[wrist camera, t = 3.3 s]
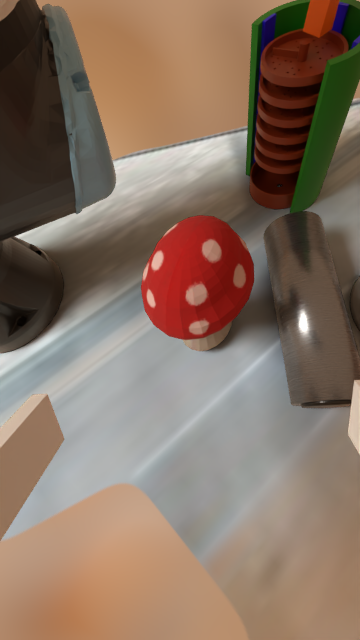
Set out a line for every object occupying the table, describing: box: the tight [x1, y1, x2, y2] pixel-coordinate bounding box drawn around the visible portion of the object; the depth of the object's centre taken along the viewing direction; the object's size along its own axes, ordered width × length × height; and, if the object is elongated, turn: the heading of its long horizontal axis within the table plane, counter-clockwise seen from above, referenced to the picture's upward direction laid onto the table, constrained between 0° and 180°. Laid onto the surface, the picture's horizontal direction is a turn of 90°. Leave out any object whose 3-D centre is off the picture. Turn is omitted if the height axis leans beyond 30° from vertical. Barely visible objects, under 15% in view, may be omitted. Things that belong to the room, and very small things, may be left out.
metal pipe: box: [263, 211, 360, 408], centre depth 27 cm, size 6×18×6 cm, turn 1°
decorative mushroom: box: [141, 215, 254, 351], centre depth 24 cm, size 10×9×15 cm
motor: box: [246, 0, 360, 213], centre depth 28 cm, size 10×9×20 cm
